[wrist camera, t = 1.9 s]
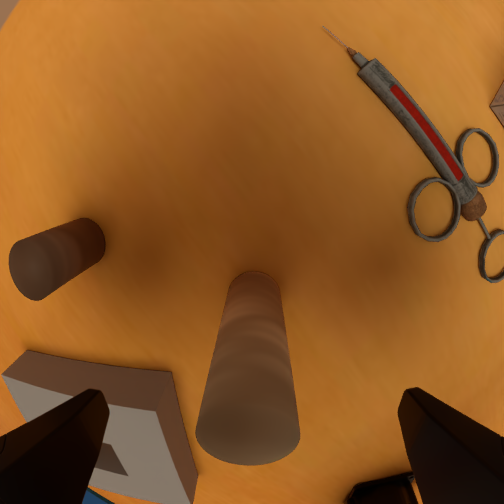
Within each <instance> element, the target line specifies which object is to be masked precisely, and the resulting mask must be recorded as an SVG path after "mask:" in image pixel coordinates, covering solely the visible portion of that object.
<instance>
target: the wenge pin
mask: <svg viewBox="0 0 504 504" xmlns="http://www.w3.org/2000/svg"><path fill="white" fill-rule="evenodd" d="M104 251H105V238H104V235H103V232H102V230H101V229H100V227H99V226H98V225H97V224H96V223H95V222H94V221H92V220H90V219H87V218H80V219H77V220H74V221H71V222H68V223H65V224H63V225H60V226H57V227H54V228H51V229H49V230H46V231H43V232H41V233H38V234H35V235H33V236H30V237H27V238H25V239H22V240H20V241H18V242H16V243H15V244H14V245H13V247H12V248H11V251H10V254H9V269H10V273H11V276H12V279H13V281H14V283H15V285H16V287H17V288H18V290H19V291H20V292H21V293H22V294H23V295H24V296H25V297H27V298H29V299H31V300H34V301H39V300H42V299H44V298H45V297H46V296H48V295H49V294H51V293H52V292H54V291H55V290H57V289H58V288H59V287H61V286H62V285H64V284H65V283H67V282H68V281H70V280H71V279H73V278H74V277H76V276H77V275H79V274H80V273H82V272H83V271H85V270H86V269H88V268H89V267H91V266H92V265H94V264H95V263H97V262H98V261H99V260H100V259H101V258H102V256H103V254H104Z"/></svg>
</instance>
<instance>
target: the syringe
mask: <svg viewBox="0 0 504 504" xmlns="http://www.w3.org/2000/svg"><path fill="white" fill-rule="evenodd" d="M323 27H324V26H323ZM324 28H325V27H324ZM325 29H326V28H325ZM326 30H327V29H326ZM327 31H328V32H330V31H329V30H327ZM330 33H331V32H330ZM331 34H332V33H331ZM332 35H333V34H332ZM333 36H334V35H333ZM334 37H335V38H337V37H336V36H334ZM337 39H338V38H337ZM338 40H339V39H338ZM339 41H340V40H339ZM340 42H341V41H340ZM341 43H342V42H341ZM342 44H343V45H344V46H345V47H347V46H346V45H345V44H344V43H342ZM347 50H348V51H349V53H350V55H352V56H353V59H354V61H355V62H356V63H357V64H358V65H359V66H360V67H361V70H360V71H359V72H358V75H359V76H360V77H361V78H362V79H363V80H364V81H365V82H366V83H367V84H368V85H369V87H370V88H371V89H372V90H373V91H374V92H375V93H376V94H377V95H378V96H379V97H380V99H381V100H382V101H383V102H384V103H385V104H386V105H387V106H388V108H389V109H390V110H391V111H392V112H393V113H394V114H395V116H396V117H397V118H398V119H399V120H400V122H401V123H402V124H403V125H404V126H405V128H406V129H407V130H408V131H409V133H410V134H411V135H412V136H413V138H414V139H415V140H416V142H417V143H418V144H419V146H420V147H421V148H422V150H423V151H424V152H425V154H426V155H427V156H428V158H429V159H430V161H431V162H432V163H433V165H434V166H435V168H436V169H437V171H438V172H439V173H440V175H441V176H442V178H443V179H444V180H443V179H441V178H437V177H434V178H428V179H425V180H423V181H422V182H421V183H419V184H418V185H417V186H416V188H415V189H414V191H413V192H412V193H411V195H410V199H409V203H408V207H407V208H408V215H409V222H410V224H411V226H412V228H413V230H414V232H415V234H416V235H418V236H420V237H421V238H423V239H425V240H427V241H433V242H439V241H442V240H444V239H446V238H448V237H449V236H450V235H451V234H452V233H453V231H454V230H455V228H456V227H457V225H458V222H459V219H460V212H461V214H462V215H463V217H464V218H465V219H466V220H468V221H474V220H477V219H478V220H479V222H480V224H481V225H482V227H483V229H484V231H485V233H486V235H487V239H486V241H485V242H484V244H483V245H482V249H481V252H480V255H479V269H480V272H481V275H482V277H483V278H484V279H486V280H487V281H489V282H491V283H497V282H499V281H501V280H503V279H504V270H503V272H502V273H501V274H500V275H499V276H497V277H495V278H488V277H487V275H486V271H485V256H486V253H487V250H488V248H489V246H490V244H491V243H492V241H493V240H494V239H495V238H496V237H497V236H498V235H501V234H504V231H503V230H496V231H493V232H492V233H491V234H490V235H489V233H488V231H487V229H486V227H485V225H484V223H483V221H482V219H481V216H482V215H483V214H484V213H485V211H486V208H487V206H486V203H485V200H484V198H483V196H482V194H481V193H480V192H478V191H477V188H476V186H478V187H486V186H489V185H490V184H491V183H492V182H493V181H494V180H495V178H496V176H497V173H498V168H499V154H498V151H497V147H496V143H495V142H494V141H493V139H492V138H491V137H490V135H489V134H488V133H486V132H485V131H483V130H482V129H480V128H477V129H468V130H466V131H465V132H464V133H463V134H462V135H461V137H460V138H459V140H458V142H457V148H456V156H455V155H454V153H453V152H452V150H451V149H450V147H449V146H448V144H447V143H446V142H445V140H444V139H443V137H442V136H441V134H440V133H439V132H438V130H437V129H436V128H435V126H434V125H433V124H432V122H431V121H430V120H429V118H428V117H427V116H426V114H425V113H424V112H423V111H422V109H421V108H420V107H419V106H418V104H417V103H416V102H415V101H414V99H413V98H412V97H411V96H410V95H409V93H408V92H407V91H406V90H405V89H404V88H403V87H402V85H401V84H400V83H399V82H398V81H397V80H396V79H395V78H394V77H393V76H392V74H391V73H390V72H389V71H388V70H387V69H386V68H385V67H384V66H383V65H382V64H381V63H380V62H379V61H378V60H377V59H376V58H375V59H373V60H371V61H368V60H367V59H366V58H365V57H364V56H362V55H361V54H360V53H359V52H358V53H357V52H356V51H355V50H353V49H351V48H349V47H347ZM473 132H477V133H479V134H481V135H482V136H484V137H485V139H486V140H487V142H488V143H489V144H490V147H491V151H492V154H493V167H492V172H491V174H490V176H489V178H488V179H487V180H486V181H485V182H483V183H475V182H474V181H473V180H472V179H471V178H469V176H468V174H467V172H466V170H465V167H464V163H463V157H462V151H463V145H464V142H465V141H466V139H467V137H468V136H469V135H470V134H472V133H473ZM437 181H438V182H440V183H442V184H444V185H445V186H446V187H447V188H448V189H449V190H450V192H451V193H452V196H453V200H454V216H453V219H452V222H451V224H450V226H449V227H448V229H447V230H446V231H445V232H443V233H442V234H441V235H438V236H435V237H431V236H425V235H423V234H422V233H421V232H420V230H419V228H418V226H417V224H416V222H415V215H414V206H415V203H416V198H417V197H418V195H419V194H420V192H421V191H422V189H423V188H425V187H426V186H427V185H428V184H430V183H432V182H437Z"/></svg>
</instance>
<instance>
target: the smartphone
mask: <svg viewBox="0 0 504 504" xmlns="http://www.w3.org/2000/svg"><path fill="white" fill-rule="evenodd" d="M82 504H114V503H113V502H111V501H109V500H107V499H106V498H104V497H102V496H101V495H99V494H97V493H96V492H94V491H93V490H91V489H90V488H88V487H87V490H86V493H85V496H84V499H83V502H82Z"/></svg>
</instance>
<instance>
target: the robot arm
mask: <svg viewBox="0 0 504 504" xmlns="http://www.w3.org/2000/svg"><path fill="white" fill-rule="evenodd" d="M109 416H110V410H109V407H108V404H107V402H106V399H105V397H104V394H103V392H102V391H101V390H98V389H93V388H89V389H87V390H85V391H83V392H81V393H80V394H78V395H76V396H74V397H73V398H71V399H69V400H67V401H65V402H64V403H62V404H60V405H58V406H56V407H55V408H53V409H51V410H49V411H47V412H46V413H44V414H42V415H40V416H38V417H36V418H35V419H33V420H31V421H29V422H27V423H25V424H24V425H22V426H20V427H18V428H16V429H14V430H12V431H10V432H8V433H7V434H4V435H3V436H1V437H0V504H82V502H83V499H84V496H85V493H86V490H87V487H88V485H89V482H90V479H91V476H92V473H93V471H94V468H95V465H96V462H97V460H98V457H99V454H100V450H101V447H102V443H103V439H104V435H105V431H106V427H107V423H108V420H109ZM398 418H399V422H400V426H401V430H402V435H403V439H404V443H405V448H406V452H407V456H408V459H409V462H410V465H411V468H412V471H413V472H411V473H407V474H403V475H400V476H396V477H392V478H388V479H383V480H379V481H374V482H370V483H365V484H359V485H356V486H355V487H354V488H353V490H352V492H351V494H350V496H349V498H348V499H347V500H346V502H345V504H418V501H417V498H416V496H415V493H414V490H413V488H412V485H411V483H412V481H413V480H414V478H415V480H416V483H417V486H418V489H419V492H420V495H421V499H422V502H423V504H504V437H503V436H500V435H499V434H497V433H495V432H494V431H492V430H490V429H488V428H487V427H485V426H483V425H481V424H480V423H478V422H476V421H474V420H473V419H471V418H469V417H468V416H466V415H464V414H462V413H461V412H459V411H457V410H456V409H454V408H452V407H451V406H449V405H447V404H445V403H444V402H442V401H440V400H439V399H437V398H435V397H434V396H432V395H430V394H429V393H427V392H425V391H424V390H422V389H420V388H418V387H414V388H409V389H406V390H405V391H404V393H403V396H402V399H401V402H400V404H399V407H398Z"/></svg>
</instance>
